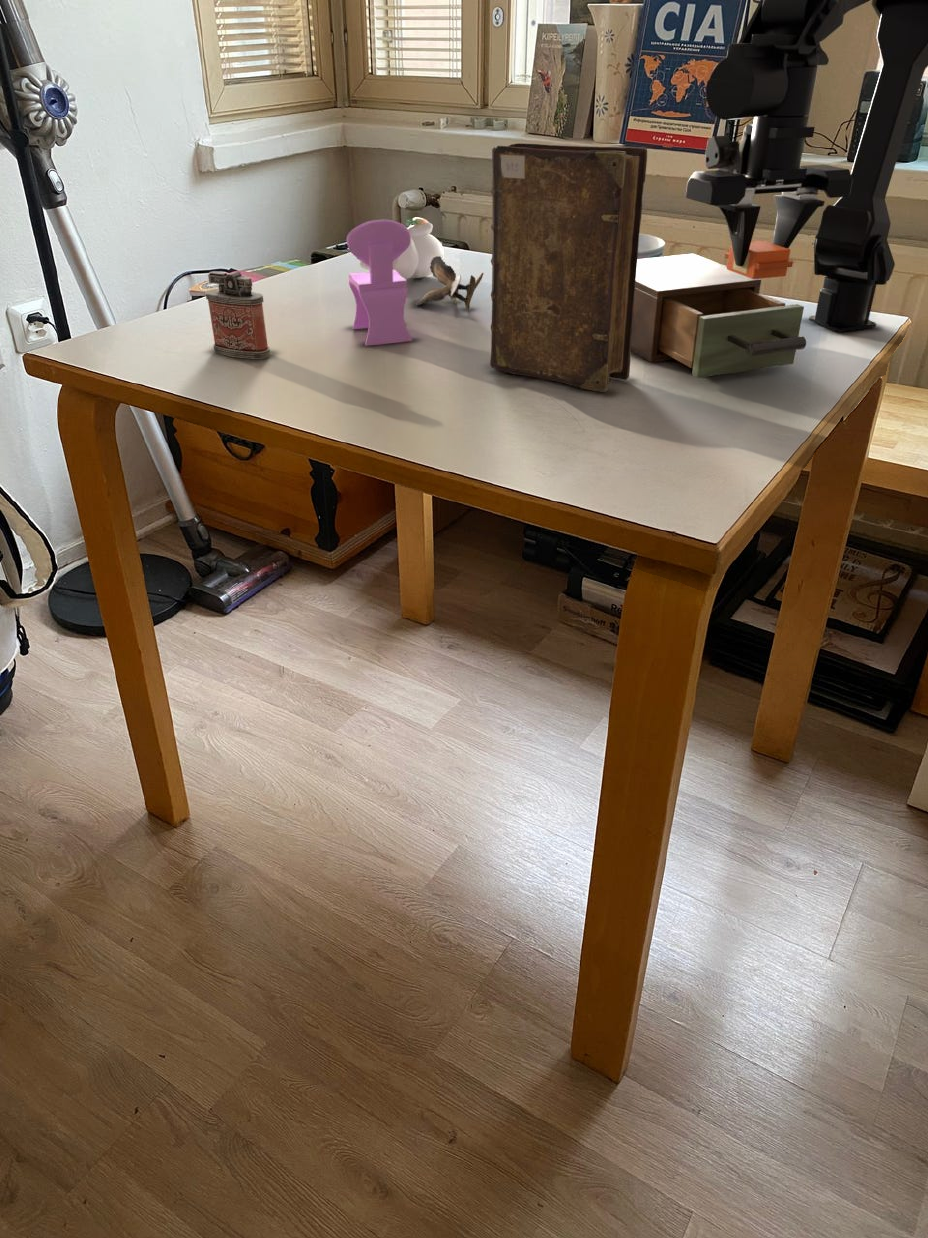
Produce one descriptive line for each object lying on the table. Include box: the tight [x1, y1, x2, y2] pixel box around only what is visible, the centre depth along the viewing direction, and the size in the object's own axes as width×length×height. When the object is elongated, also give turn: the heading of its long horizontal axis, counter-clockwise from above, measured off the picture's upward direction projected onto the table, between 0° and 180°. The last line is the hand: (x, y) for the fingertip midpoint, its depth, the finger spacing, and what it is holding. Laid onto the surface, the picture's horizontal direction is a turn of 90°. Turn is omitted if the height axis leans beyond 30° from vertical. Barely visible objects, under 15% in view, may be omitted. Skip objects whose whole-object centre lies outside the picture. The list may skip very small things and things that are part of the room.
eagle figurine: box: [415, 256, 485, 311], centre depth 138 cm, size 8×7×9 cm
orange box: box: [724, 240, 794, 280], centre depth 111 cm, size 5×7×3 cm
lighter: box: [204, 270, 271, 360], centre depth 119 cm, size 8×3×10 cm, turn 65°
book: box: [489, 142, 648, 393], centre depth 107 cm, size 17×7×25 cm, turn 53°
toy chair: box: [346, 219, 413, 347], centre depth 124 cm, size 8×9×15 cm
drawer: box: [658, 288, 807, 379], centre depth 113 cm, size 20×13×7 cm
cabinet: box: [631, 253, 762, 363], centre depth 123 cm, size 16×15×9 cm
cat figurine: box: [359, 216, 445, 281], centre depth 151 cm, size 10×8×15 cm
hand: (757, 263), depth 111 cm, fingers closed on orange box, 5 cm apart
